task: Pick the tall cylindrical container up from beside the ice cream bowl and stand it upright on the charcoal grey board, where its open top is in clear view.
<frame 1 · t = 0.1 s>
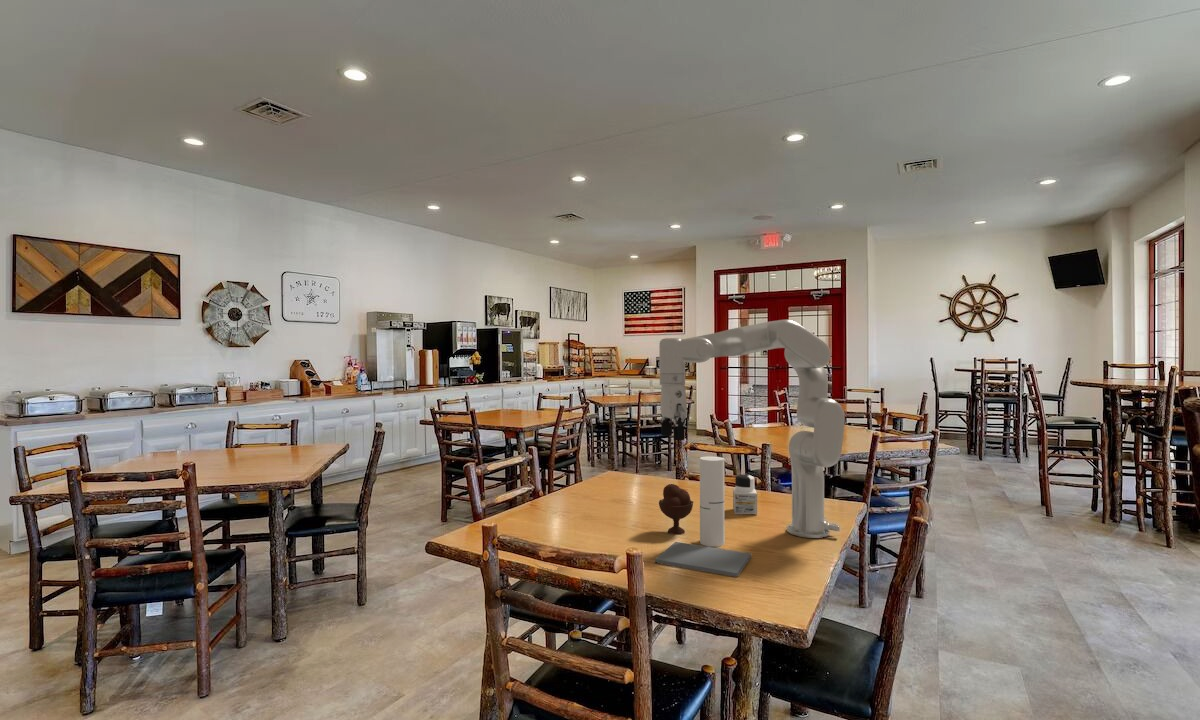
hand: (672, 437, 166), 31 cm above the table, tool pointing down, fingers open, 9 cm apart
cylindrical container: (712, 543, 167), on the table
ice cream bowl: (676, 532, 177), on the table
container: (745, 512, 200), on the table
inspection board: (703, 559, 153), on the table
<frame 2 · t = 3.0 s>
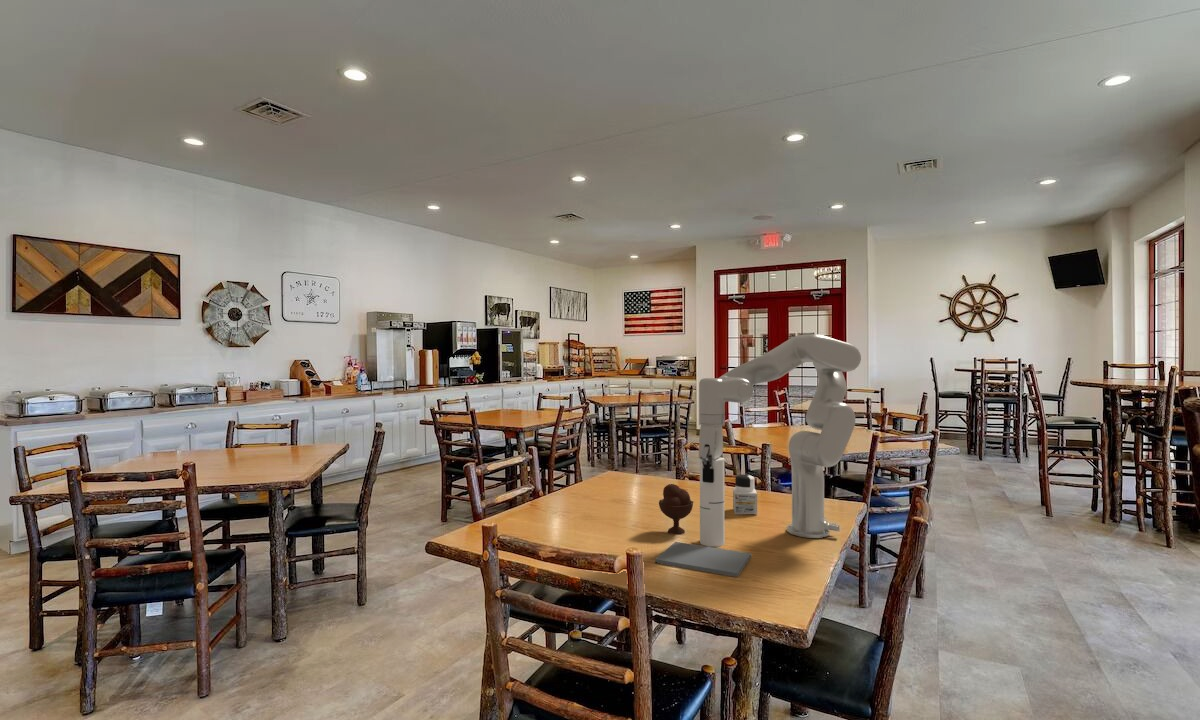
hand: (712, 479, 167), 19 cm above the table, tool pointing down, fingers closed on cylindrical container, 7 cm apart
cylindrical container: (712, 543, 167), on the table, touching gripper
everything else where it was.
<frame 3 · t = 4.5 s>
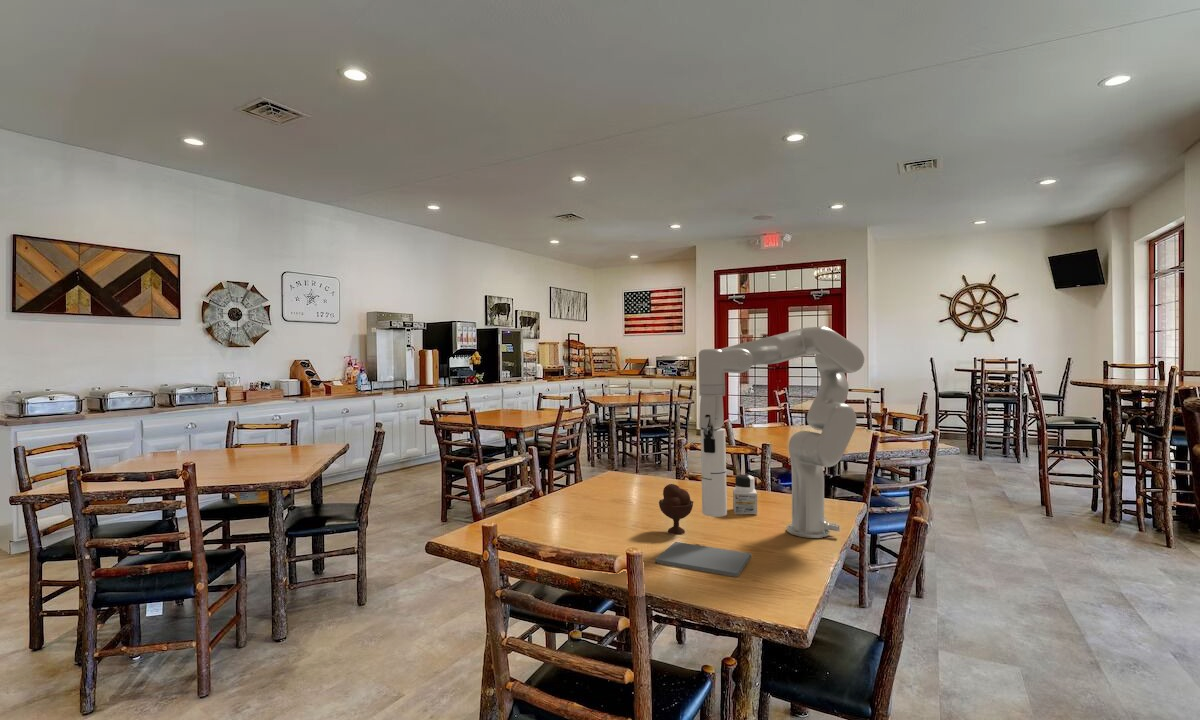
hand: (713, 449, 167), 27 cm above the table, tool pointing down, fingers closed on cylindrical container, 7 cm apart
cylindrical container: (714, 514, 167), point 8 cm above the table, touching gripper
everything else where it was.
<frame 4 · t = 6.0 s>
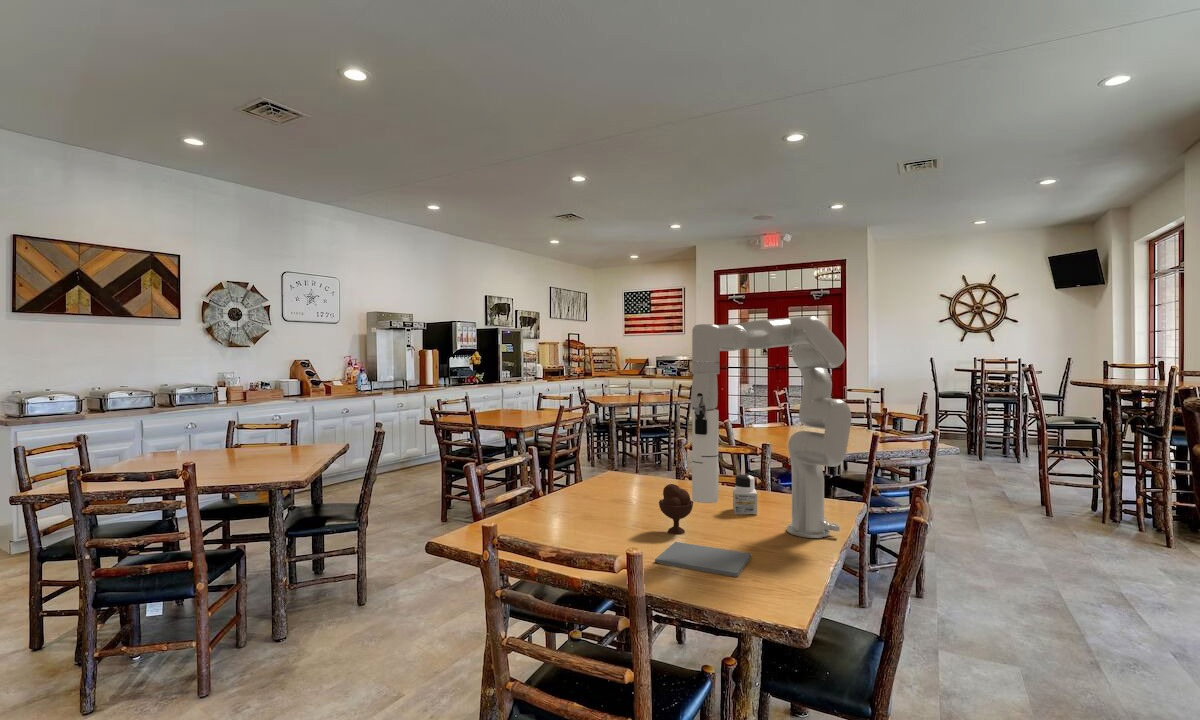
hand: (705, 432, 156), 34 cm above the table, tool pointing down, fingers closed on cylindrical container, 7 cm apart
cylindrical container: (705, 500, 156), point 15 cm above the table, touching gripper
everything else where it was.
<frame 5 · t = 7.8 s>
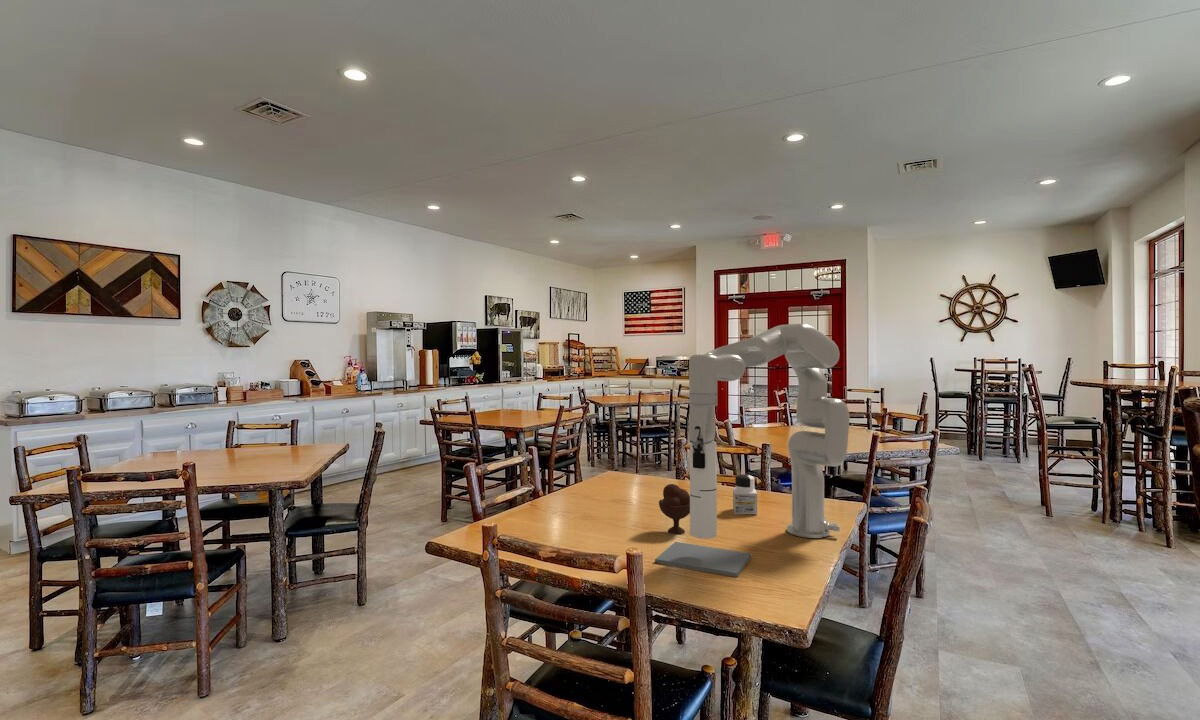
hand: (703, 465, 153), 26 cm above the table, tool pointing down, fingers closed on cylindrical container, 7 cm apart
cylindrical container: (703, 535, 153), point 7 cm above the table, touching gripper
everything else where it was.
when the fingers open (21 cm above the table, at t = 9.3 s): cylindrical container stays where it is, resting on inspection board.
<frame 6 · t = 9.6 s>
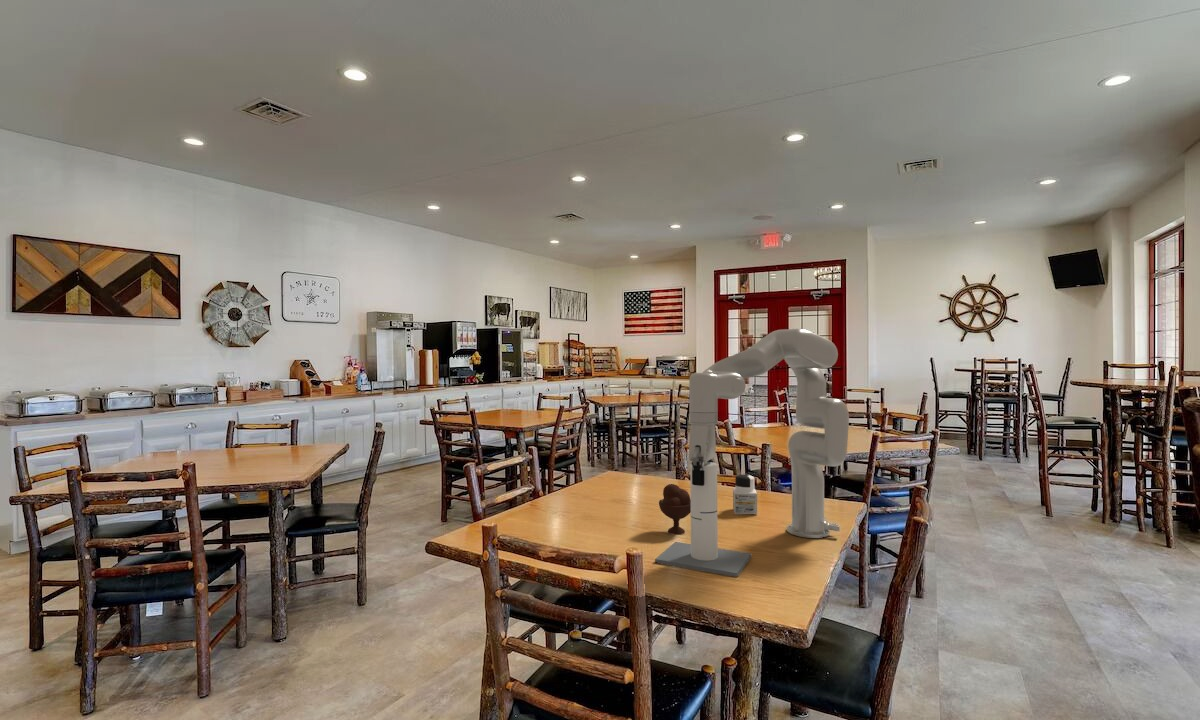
hand: (703, 481, 153), 21 cm above the table, tool pointing down, fingers open, 9 cm apart
cylindrical container: (704, 556, 153), point 1 cm above the table, touching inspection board
everything else where it was.
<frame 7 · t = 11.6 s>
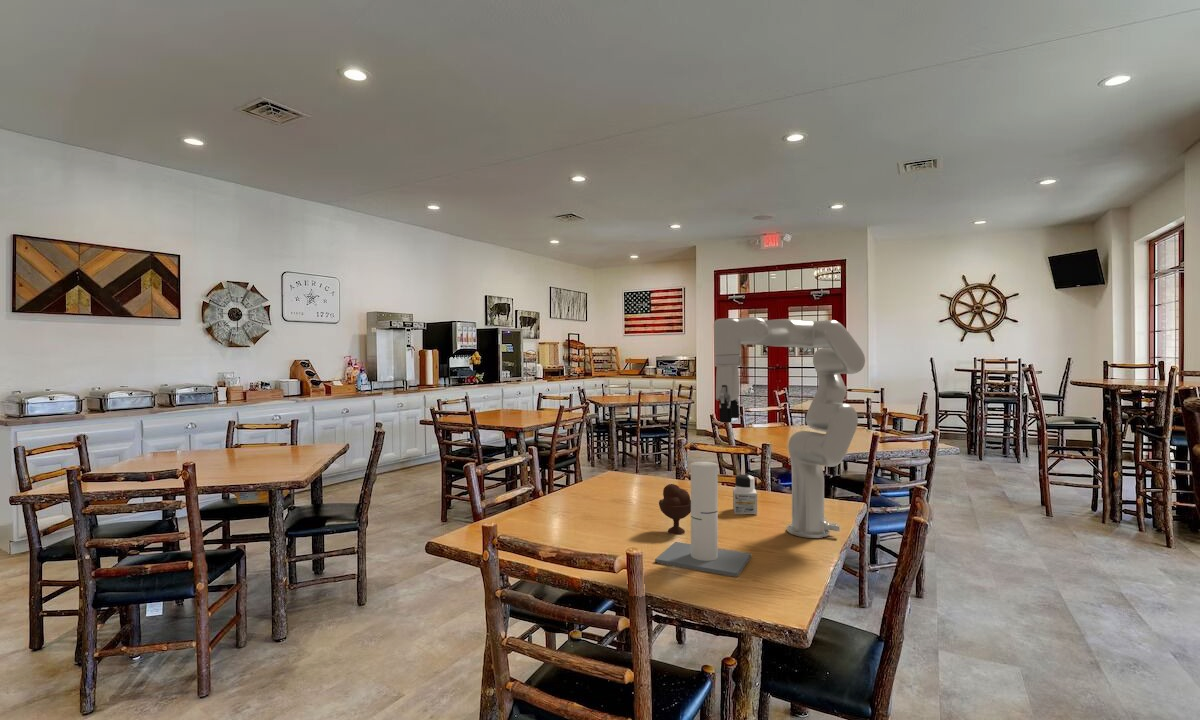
hand: (729, 420, 163), 37 cm above the table, tool pointing down, fingers open, 9 cm apart
nothing on the table moved.
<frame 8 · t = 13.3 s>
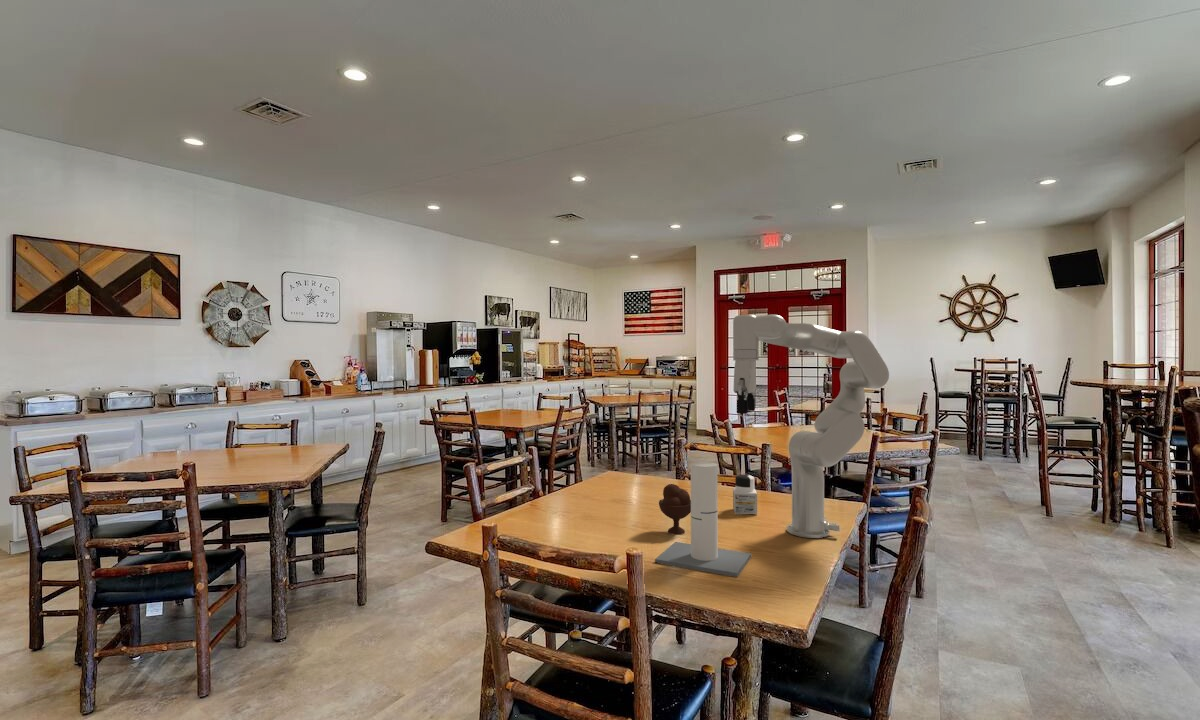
hand: (745, 412, 171), 38 cm above the table, tool pointing down, fingers open, 9 cm apart
nothing on the table moved.
at the end: cylindrical container inside the target area on the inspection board (0.2 cm from its centre), point 0.8 cm above the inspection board's base; cylindrical container tilted 0°; the gripper is holding nothing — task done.
